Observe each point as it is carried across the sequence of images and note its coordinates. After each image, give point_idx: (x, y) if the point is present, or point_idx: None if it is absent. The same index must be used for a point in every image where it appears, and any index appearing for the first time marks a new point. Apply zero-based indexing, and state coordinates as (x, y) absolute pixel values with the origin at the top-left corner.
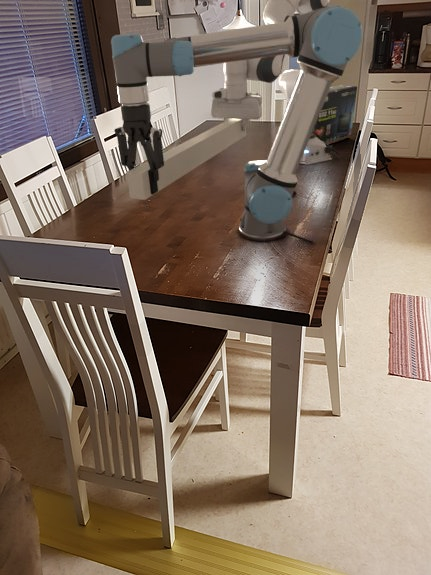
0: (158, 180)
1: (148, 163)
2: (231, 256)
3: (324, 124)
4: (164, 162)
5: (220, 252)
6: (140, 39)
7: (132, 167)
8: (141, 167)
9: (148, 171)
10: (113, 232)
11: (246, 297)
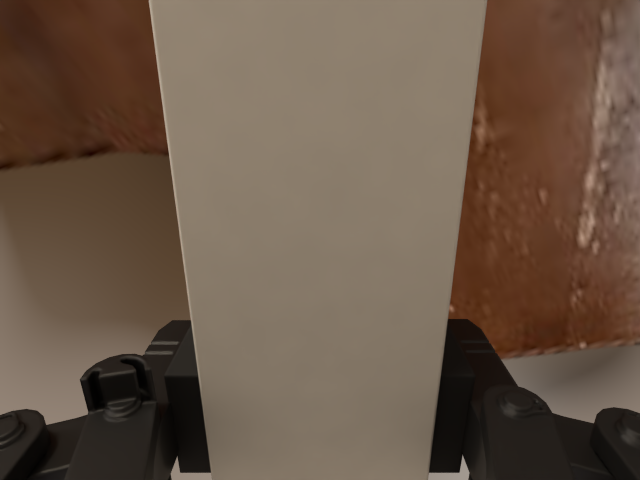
0: (466, 322)
1: (269, 242)
2: (617, 80)
3: None
4: (476, 35)
5: (566, 62)
6: None
7: (172, 448)
8: (285, 419)
9: (430, 467)
10: (23, 43)
11: None
